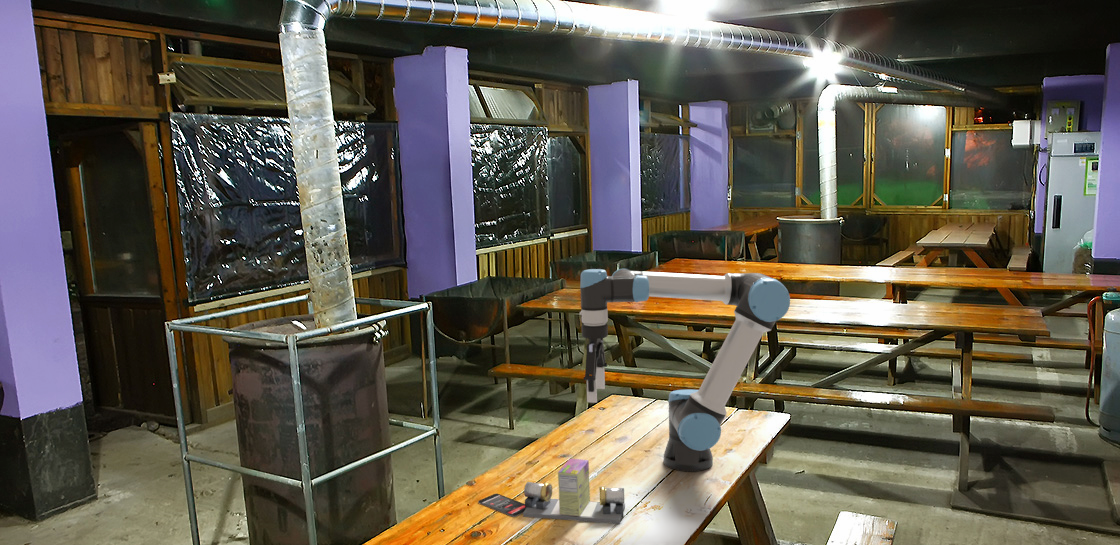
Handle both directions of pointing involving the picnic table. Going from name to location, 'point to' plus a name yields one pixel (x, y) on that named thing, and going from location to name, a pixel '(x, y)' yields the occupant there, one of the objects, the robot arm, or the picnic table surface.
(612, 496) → the shaft
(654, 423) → the picnic table surface
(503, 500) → the smartphone
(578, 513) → the box
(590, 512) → the bed
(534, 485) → the shaft
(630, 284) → the robot arm
